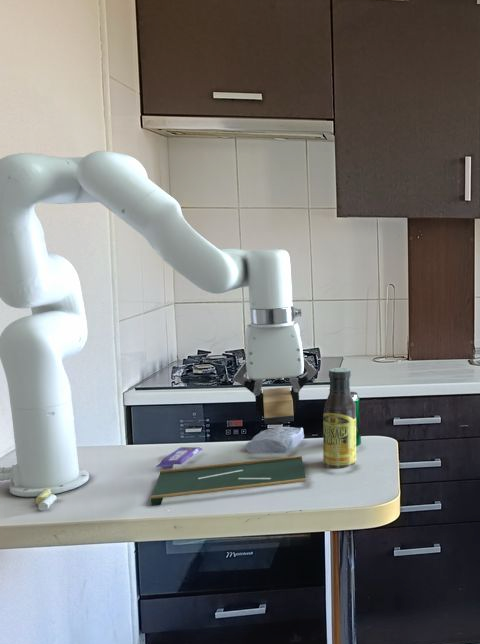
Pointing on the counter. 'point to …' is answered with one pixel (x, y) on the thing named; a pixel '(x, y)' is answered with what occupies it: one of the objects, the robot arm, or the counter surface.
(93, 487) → the counter surface
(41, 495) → the chalk stick
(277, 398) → the eraser
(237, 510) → the counter surface
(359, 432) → the soda can
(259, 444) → the stone block
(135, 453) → the counter surface
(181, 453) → the snack package
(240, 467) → the chalkboard
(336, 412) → the sauce bottle
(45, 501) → the chalk stick
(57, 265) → the robot arm
